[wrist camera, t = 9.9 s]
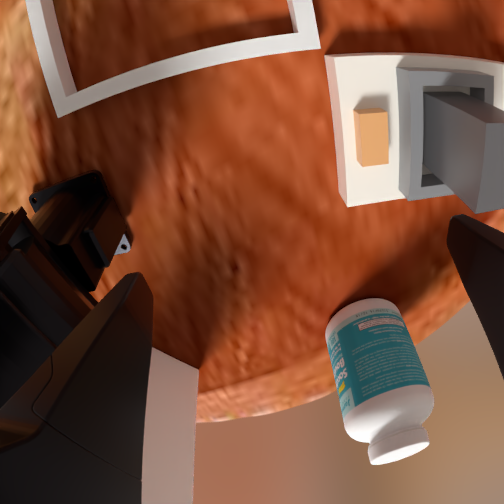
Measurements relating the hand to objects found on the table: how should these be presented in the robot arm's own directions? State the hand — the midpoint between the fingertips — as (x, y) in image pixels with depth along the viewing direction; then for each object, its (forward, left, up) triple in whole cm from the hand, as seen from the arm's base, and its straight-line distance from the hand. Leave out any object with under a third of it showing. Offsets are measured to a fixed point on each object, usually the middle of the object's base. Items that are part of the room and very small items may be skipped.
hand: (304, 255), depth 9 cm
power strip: (+14, 0, -12) cm, 19 cm away
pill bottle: (+6, -19, -12) cm, 23 cm away
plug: (+10, 0, -10) cm, 14 cm away
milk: (-15, -22, -12) cm, 29 cm away
